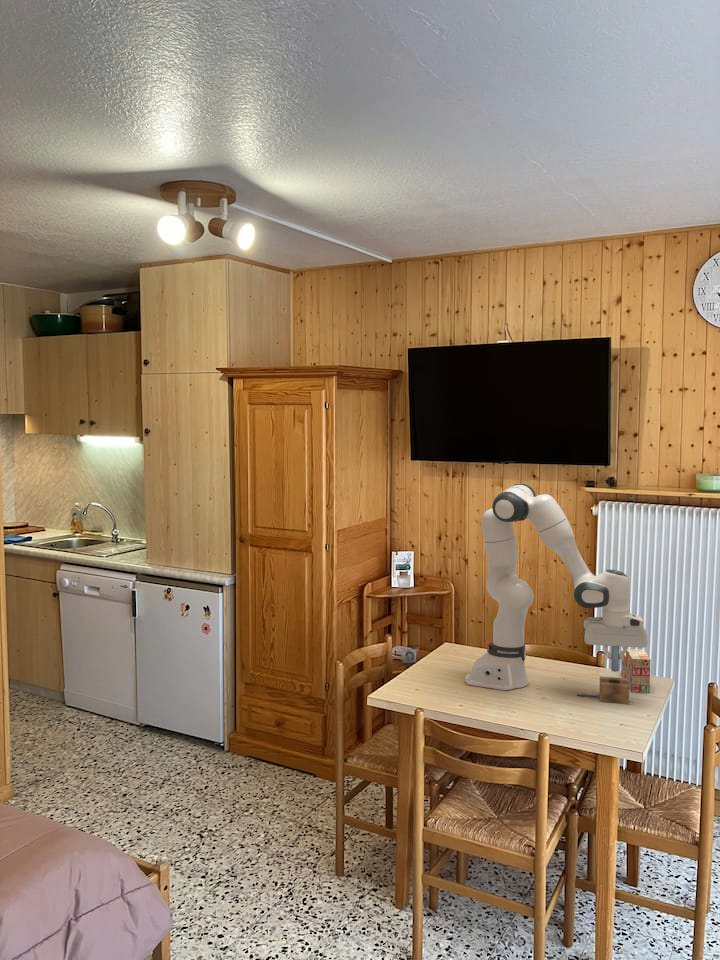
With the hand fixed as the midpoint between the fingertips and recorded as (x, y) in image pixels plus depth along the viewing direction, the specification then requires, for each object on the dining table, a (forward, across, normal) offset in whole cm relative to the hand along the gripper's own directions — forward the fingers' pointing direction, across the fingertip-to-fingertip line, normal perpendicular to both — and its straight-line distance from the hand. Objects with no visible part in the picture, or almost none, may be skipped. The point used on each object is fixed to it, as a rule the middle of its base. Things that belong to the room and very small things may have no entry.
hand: (615, 658), depth 263 cm
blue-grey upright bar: (+4, 0, 0) cm, 4 cm away
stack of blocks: (+14, +8, +20) cm, 26 cm away
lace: (+14, -9, 0) cm, 16 cm away
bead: (+14, 0, 0) cm, 14 cm away
